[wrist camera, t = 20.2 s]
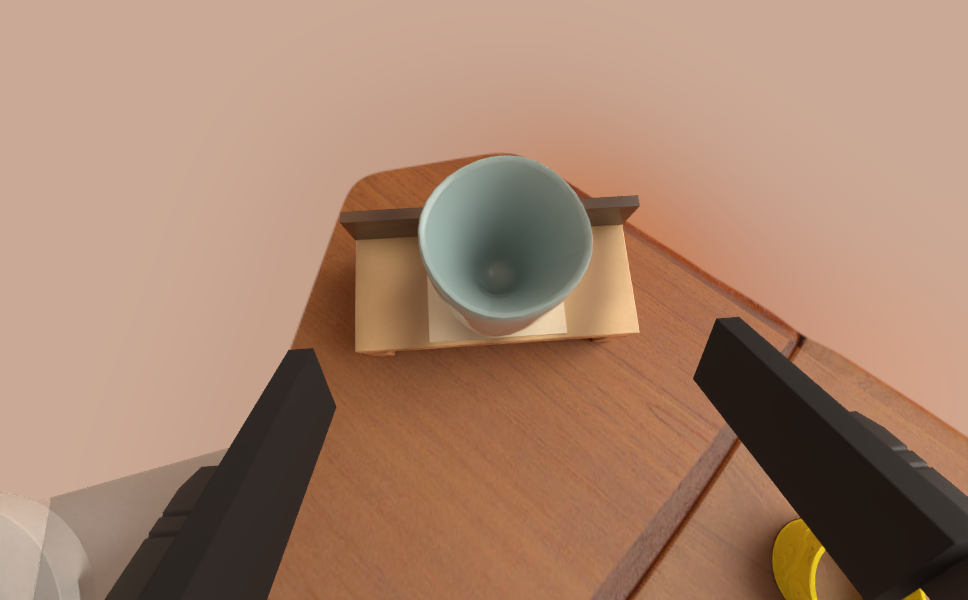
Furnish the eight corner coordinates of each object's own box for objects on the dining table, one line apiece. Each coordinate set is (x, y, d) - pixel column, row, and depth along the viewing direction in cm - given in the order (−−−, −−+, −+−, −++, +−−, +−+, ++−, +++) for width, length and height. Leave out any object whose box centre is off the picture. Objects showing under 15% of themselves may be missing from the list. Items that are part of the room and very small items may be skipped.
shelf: (378, 356, 30) (337, 348, 21) (378, 257, 32) (340, 211, 23) (609, 341, 31) (661, 326, 22) (595, 244, 33) (638, 195, 24)
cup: (570, 305, 25) (629, 258, 15) (478, 364, 24) (478, 356, 14) (510, 218, 26) (529, 125, 17) (420, 272, 25) (384, 206, 16)
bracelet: (879, 635, 26) (934, 671, 23) (771, 616, 27) (811, 649, 23) (872, 527, 28) (924, 547, 25) (770, 510, 28) (808, 527, 25)
